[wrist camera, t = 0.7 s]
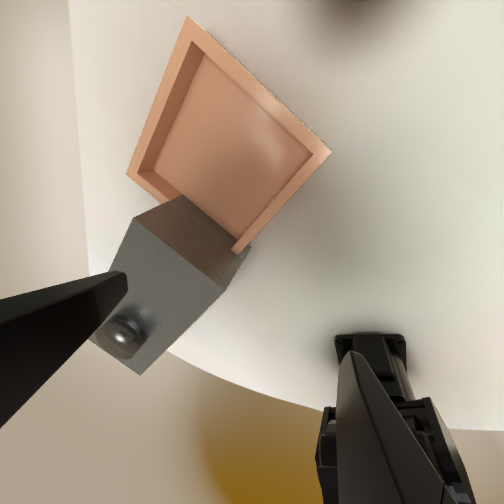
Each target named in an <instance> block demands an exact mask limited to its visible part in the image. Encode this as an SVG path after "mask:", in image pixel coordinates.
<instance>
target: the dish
mask: <svg viewBox="0 0 504 504" xmlns="http://www.w3.org/2000/svg"><path fill="white" fill-rule="evenodd" d="M331 153H332V151H331V149H330V148H329V147H328V146H327V145H326V144H325V143H323V142H322V141H321V140H320V139H319V138H318V137H317V136H316V135H315V134H314V133H313V132H312V131H311V130H310V129H309V128H308V127H307V126H306V125H304V124H303V123H302V122H301V121H300V120H299V119H298V118H297V117H296V116H295V115H294V114H293V113H292V112H291V111H290V110H289V109H288V108H287V107H285V106H284V105H283V104H282V103H281V102H280V101H279V100H278V99H277V98H276V97H275V96H274V95H273V94H272V93H271V92H270V91H269V90H268V89H267V88H265V87H264V86H263V85H262V84H261V83H260V82H259V81H258V80H257V79H256V78H255V77H254V76H253V75H252V74H251V73H250V72H249V71H248V70H246V69H245V68H244V67H243V66H242V65H241V64H240V63H239V62H238V61H237V60H236V59H235V58H234V57H233V56H232V55H231V54H230V53H229V52H227V51H226V50H225V49H224V48H223V47H222V46H221V45H220V44H219V43H218V42H217V41H216V40H215V39H214V38H213V37H212V36H211V35H210V34H209V33H207V32H206V31H205V30H204V29H203V28H202V27H201V26H199V25H198V24H197V23H196V22H195V21H193V20H192V19H191V18H190V17H189V16H188V15H187V16H186V19H185V21H184V24H183V27H182V29H181V32H180V34H179V37H178V40H177V42H176V45H175V48H174V50H173V53H172V55H171V58H170V61H169V63H168V66H167V68H166V71H165V74H164V76H163V79H162V81H161V84H160V87H159V89H158V92H157V95H156V97H155V100H154V102H153V105H152V108H151V110H150V113H149V115H148V118H147V121H146V123H145V126H144V128H143V131H142V134H141V136H140V139H139V141H138V144H137V147H136V149H135V152H134V155H133V157H132V160H131V162H130V165H129V168H128V170H127V173H126V175H127V176H129V177H130V178H131V179H132V180H133V181H135V182H136V183H137V184H138V185H140V186H141V187H142V188H143V189H144V190H146V191H147V192H148V193H149V194H151V195H152V196H153V197H154V198H155V199H157V200H158V201H159V202H160V203H162V204H164V203H166V202H168V201H170V200H172V199H174V198H176V197H178V196H180V195H184V196H186V197H187V198H188V199H189V200H190V201H192V202H193V203H194V204H195V205H196V206H198V207H199V208H200V209H201V210H202V211H204V212H205V213H206V214H207V215H208V216H210V217H211V218H212V219H213V220H214V221H216V222H217V223H218V224H219V225H220V226H222V227H223V228H224V229H225V230H226V231H228V232H229V233H230V234H231V235H232V236H234V237H235V238H236V239H237V242H236V243H235V244H234V246H233V247H232V248H231V250H232V251H233V252H234V253H235V254H237V255H238V254H239V253H240V252H241V251H242V250H243V249H244V248H245V247H246V246H247V245H248V244H249V242H250V241H251V240H252V239H253V238H254V237H255V236H256V235H257V234H258V233H259V231H260V230H261V229H262V228H263V227H264V226H265V225H266V224H267V223H268V222H269V221H270V219H271V218H272V217H273V216H274V215H275V214H276V213H277V212H278V211H279V210H280V209H281V207H282V206H283V205H284V204H285V203H286V202H287V201H288V200H289V199H290V198H291V196H292V195H293V194H294V193H295V192H296V191H297V190H298V189H299V188H300V187H301V186H302V184H303V183H304V182H305V181H306V180H307V179H308V178H309V177H310V176H311V175H312V174H313V172H314V171H315V170H316V169H317V168H318V167H319V166H320V165H321V164H322V163H323V162H324V160H325V159H326V158H327V157H328V156H329V155H330V154H331Z"/></svg>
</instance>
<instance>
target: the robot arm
mask: <svg viewBox="0 0 504 504" xmlns="http://www.w3.org/2000/svg"><path fill="white" fill-rule="evenodd" d="M127 292H128V281H127V275H126V273H124V272H121V271H118V270H114V271H110V272H106V273H102V274H98V275H94V276H90V277H86V278H83V279H79V280H75V281H71V282H67V283H63V284H59V285H55V286H51V287H47V288H43V289H40V290H36V291H32V292H28V293H24V294H20V295H16V296H12V297H8V298H5V299H1V300H0V428H1V427H2V426H3V425H4V424H5V423H6V422H7V421H8V420H9V419H10V418H11V417H12V416H13V415H14V414H15V413H16V412H17V411H18V410H19V409H20V408H21V407H22V406H23V405H24V404H25V403H26V402H27V401H28V400H29V399H30V398H31V397H32V396H33V394H34V393H35V392H36V391H37V390H38V389H39V388H40V387H41V386H42V385H43V384H44V383H45V382H46V381H47V380H48V379H49V378H50V377H51V376H52V375H53V374H54V373H55V372H56V371H57V370H58V369H59V368H60V367H61V366H62V365H63V364H64V363H65V362H66V361H67V360H68V359H69V358H70V357H71V355H72V354H73V353H74V352H75V351H76V350H77V349H78V348H79V347H80V346H81V345H82V344H83V343H84V342H85V341H86V340H87V339H88V338H89V337H90V336H91V335H92V334H93V333H94V332H95V331H96V330H97V329H98V328H99V327H100V326H101V325H102V323H103V322H104V321H105V320H106V319H107V317H108V316H109V315H110V314H111V312H112V311H113V310H114V309H115V308H116V306H117V305H118V304H119V303H120V301H121V300H122V299H123V298H124V296H125V295H126V294H127ZM338 340H340V341H338ZM398 340H400V341H398ZM335 346H336V351H337V356H338V361H339V366H340V367H339V374H338V388H337V403H336V407H331V406H329V407H325V408H324V412H323V417H322V422H321V428H320V433H319V438H318V443H317V449H316V455H315V460H316V465H317V473H318V478H319V482H320V485H321V488H322V495H323V502H324V504H476V501H475V498H474V494H473V491H472V488H471V485H470V482H469V478H468V475H467V472H466V469H465V466H464V464H463V462H462V459H461V457H460V455H459V453H458V450H457V448H456V446H455V444H454V441H453V439H452V437H451V435H450V432H449V430H448V429H447V427H446V425H445V423H444V421H443V420H442V418H441V416H440V414H439V412H438V411H437V409H436V407H435V405H434V403H433V402H432V400H431V398H430V397H426V398H422V399H419V400H415V397H414V394H413V391H412V388H411V385H410V382H409V379H408V377H407V366H406V341H405V339H404V337H403V336H401V335H360V336H336V337H335Z"/></svg>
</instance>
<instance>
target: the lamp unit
mask: <svg viewBox="0 0 504 504" xmlns="http://www.w3.org/2000/svg"><path fill="white" fill-rule="evenodd" d="M236 242H237V239H236V238H235V237H234V236H232V235H231V234H230V233H229V232H228V231H226V230H225V229H224V228H223V227H222V226H220V225H219V224H218V223H217V222H216V221H214V220H213V219H212V218H211V217H210V216H208V215H207V214H206V213H205V212H204V211H202V210H201V209H200V208H199V207H198V206H196V205H195V204H194V203H193V202H192V201H190V200H189V199H188V198H187V197H186V196H184V195H180V196H178V197H176V198H174V199H172V200H170V201H168V202H166V203H164V204H161V205H159V206H157V207H155V208H153V209H151V210H149V211H147V212H145V213H142V214H140V215H138V216H136V217H134V218H133V219H132V222H131V224H130V226H129V228H128V230H127V232H126V235H125V237H124V239H123V241H122V243H121V245H120V248H119V250H118V252H117V254H116V256H115V258H114V261H113V263H112V265H111V267H110V269H109V271H108V272H110V271H114V270H118V271H121V272H124V273H126V275H127V281H128V292H127V294H126V295H125V296H124V298H123V299H122V300H121V301H120V303H119V304H118V305H117V306H116V308H115V309H114V310H113V311H112V312H111V314H110V315H109V316H108V317H107V319H106V320H105V321H104V322H103V323H102V325H101V326H100V327H99V328H98V329H97V330H96V331H95V332H94V333H93V334H92V335H91V336H90V337H89V338H88V339H89V340H90V341H92V342H93V343H94V344H96V345H97V346H99V347H100V348H102V349H103V350H104V351H106V352H107V353H109V354H110V355H111V356H113V357H114V358H116V359H117V360H119V361H120V362H121V363H123V364H124V365H126V366H127V367H129V368H130V369H131V370H133V371H134V372H136V373H137V374H138V375H141V374H142V373H143V372H144V371H145V370H146V369H147V368H148V367H149V366H150V365H151V364H152V363H153V362H154V361H155V360H156V359H157V358H158V357H159V356H160V355H161V354H162V353H163V352H164V351H165V350H166V349H167V348H168V347H169V346H170V345H172V344H173V343H174V342H175V341H176V340H177V339H178V338H179V337H180V336H181V335H182V334H183V333H184V332H185V331H186V330H187V329H188V328H189V327H190V326H191V325H192V324H193V323H194V322H195V321H196V320H197V319H198V318H199V317H200V316H201V315H202V314H203V313H204V312H205V311H206V310H207V309H208V307H209V306H210V305H211V304H212V303H213V302H214V301H215V300H216V299H217V298H218V297H219V296H220V295H221V294H222V293H223V292H224V291H225V290H226V288H227V287H228V285H229V283H230V282H231V280H232V278H233V277H234V275H235V273H236V272H237V270H238V268H239V267H240V265H241V263H242V262H243V260H244V258H245V257H246V255H247V253H248V251H249V250H250V248H251V247H250V246H249V245H247V246H246V247H245V248H244V249H243V250H242V251H241V252H240V253H239V254H238V255H237V254H235V253H234V252H233V251H232V250H231V248H232V247H233V246H234V244H235V243H236Z"/></svg>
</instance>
